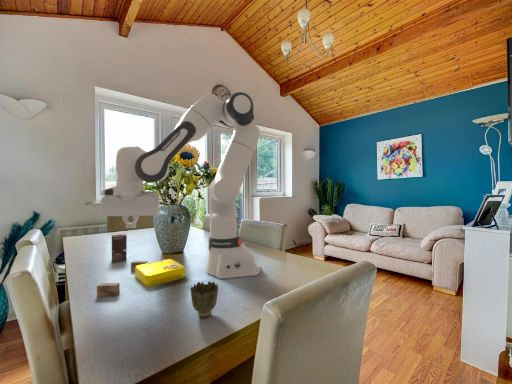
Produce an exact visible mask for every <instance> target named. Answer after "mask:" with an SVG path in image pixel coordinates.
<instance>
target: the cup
mask: <svg viewBox="0 0 512 384" xmlns="http://www.w3.org/2000/svg"><path fill="white" fill-rule="evenodd" d="M189 288H190V297H191V303H192V308H193V309H194V310H195V311H196V312H197V315H198V317H199V318H202V319H205V318H209V317H210V316H211V315H212V310H214V308H215V307H216V304H217V301H218V294H219V286H218V284H217V283H215V282H214V281H212V282H211V281H208V282H207V283H204V281H202V282H200V281H198V282H197V283H193V286H192V285H191V287H189Z"/></svg>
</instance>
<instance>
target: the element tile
mask: <svg viewBox="0 0 512 384" xmlns="http://www.w3.org/2000/svg"><path fill="white" fill-rule="evenodd" d="M185 276H186V267H185V266H184V265H183V264H181V263H179V262H178V261H176V260H174V259H172V258H168V259H162V260H158V261H151V262H148V263H147V264H142V265H137V266H136V267H135V271H134V277H135V278H136V279H137V280H138V282H140V283H141V284H142V285H143V286H144V287H146V288H150V287H154V286H157V285H161V284H166V283H169V282H173V281H177V280H180V279H183V278H185Z"/></svg>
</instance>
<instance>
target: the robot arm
mask: <svg viewBox="0 0 512 384" xmlns="http://www.w3.org/2000/svg"><path fill="white" fill-rule="evenodd" d="M254 115H255V113H254V102H253V99H252V97H251V96H250V95H249V94H248V93H246V92H242V91H237V92H234V93H232V94H231V95H230V96H229V97H227V99H226V100H222V99H220V98H219V97H218V96H217V95H215V94H212V93H207V94H205V95H203V96H202V97H201V98H199V99H198V100H196V101H195V102H194V103H193V104H192V105H191V106H190V108H188V109H187V111H186V112H185V113H183V115H182V116H181V118H180V119H179V122H178V123H177V124H176V126H175V128H174V129H173V130H172V131H171V132H170V133H169V134H168V135H167V136H166V137H165V138H164V139H163V140H162V141H161V142H160V143H159V145H158V146H156V147H155V148H153V149H152V150H150V151H145V150H144V149H143V148H141V146H137V145H130V146H129V145H128V146H123V147H121V148H120V149H118V150H117V153H116V159H115V172H116V174H117V176H116V177H117V178H116V183H115V184H116V185H115V186H112V187H108V188H106V189H102V191H101V195H102V197H101V199H100V203H99V214H100V215H101V216H102V217H121V219H122V221H123V222H124V224H125V228H126V229H136V227H137V222H138V220H139V219H140V217H142V216H143V217H147V216H149V217H150V216H151V217H153V216H157V215H159V214H160V204H159V201H160V194H159V193H158V192H157V191H155V190H144V182H145V183H149V184H151V183H152V184H153V183H158V182H162V181H163V180H165V179H167V177H168V176H169V173H170V166H169V164H170V163H171V161H172V160H173V159H174V158H175V157H176V156H177V154H179V152H181V150H182V149H183V148H184V147H185V146H187V145H188V144H189V143H192V142H195V141H199V140H200V139H202V138H203V137H204V136H206V135H207V134H208V133H209V132H210V131H211V130H212V129H213V127H214V126H215V125H216V124H217V123H221V124H222V125H223V126H225V127H228V128H231V129H233V134H232V136H231V138H230V140H229V142H228V144H227V147H226V149H225V152H224V153H223V156H222V159H221V160H220V161H221V162H220V164H219V167H218V169H217V172H216V174H215V176H214V179H213V180H212V181H211V182H210V185H209V187H208V197H209V201H208V203H209V205H208V206H209V237H208V251H209V254H208V261H207V266H206V269H205V272H206V273H207V274H208V275H210V276H214V277H216V278H218V279H230V278H231V279H232V278H244V277H253V276H254V277H255V276H258V275H260V273H261V265H260V264H259V263H257V262H256V259H255V256H254V254H253V252H252V251H250V250H249V249H247V248H246V247H245V246H244V245H243V239H242V237H241V236H239V235H238V234H237V233H238V228H237V227H238V222H237V219H238V217H237V209H236V200H237V198H238V196H239V194H240V191H241V188H242V186H243V183H244V179H245V176H246V172H247V170H248V167H249V165H250V163H251V161H252V158H253V156H254V153H255V151H256V149H257V146H258V142H259V138H260V133H261V132H260V128H259V127H258V126H257V125H256V124H255V123H254V122H253V121H254V120H255V116H254ZM130 217H132V219H133V221H132V222H130V221H129V219H130Z"/></svg>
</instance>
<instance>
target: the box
mask: <svg viewBox="0 0 512 384" xmlns="http://www.w3.org/2000/svg"><path fill="white" fill-rule="evenodd" d="M127 237H128V236H127V233H120V234H119V233H118V234H112V235H111V262H112V263H117V262H124V261H125V262H126V261H127V251H128V250H127Z"/></svg>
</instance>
